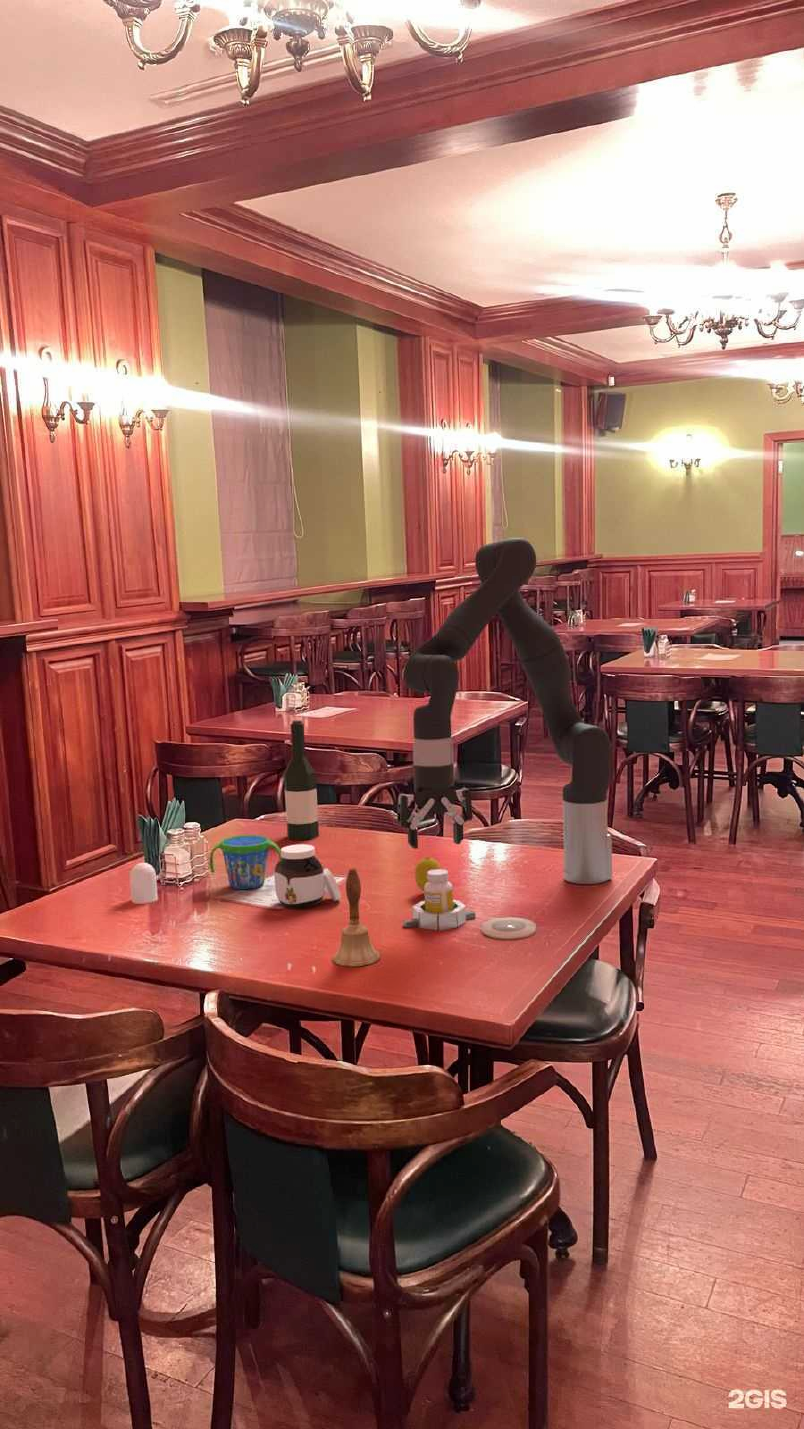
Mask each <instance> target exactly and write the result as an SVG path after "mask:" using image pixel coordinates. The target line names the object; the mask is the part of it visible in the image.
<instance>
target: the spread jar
mask: <svg viewBox="0 0 804 1429" xmlns="http://www.w3.org/2000/svg"><path fill="white" fill-rule="evenodd" d="M280 851H281V856H282V858H281V859H280V860H278V861H277V863H276V865H275V866H274V888H275V895H276V897H277V899H278V901H279V903H280V904H281V905H282V906H284V907H285V908H287V909H294V910H302V909H309V908H312V907H316V906H317V905H318V904H319V903H320V902H322V901H323V898H324V897H325V892H327V894H328V895H329V897H330V898H331V899H332V901H333V902H337V901H338V900H341V899H342V893H341V891H340V888H339V886H338V883H337V881H336V878H334V874H332V871H330V870H329V869H328V868H327V867H326V868H324V866H323V865H322V863H321V861H320V860H319V858H317V857H316V850H315V846H313V845H311V844H303V843H302V844H293V845H292V844H290V845H287V846H283V847H282V848H280Z"/></svg>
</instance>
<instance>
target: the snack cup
mask: <svg viewBox="0 0 804 1429" xmlns="http://www.w3.org/2000/svg"><path fill="white" fill-rule="evenodd" d="M270 847H273V849H274V850H275V851H276V852H277V854H278V856H279V858H278V859H279V860H280V859H281V858H282V856H281V848H280V847H279V845H277V843H276V842H274V841H272V840H271V839H269V837H268V836H263V835H257V834H247V835H246V834H244V835H235V836H230V837H226V838H224V839H222V840H220V842H219V843H218V844H216V845H214V847H213V848H212V849H211V852H210V855H209V859H208V860H209V869H210V871H211V873H214V872H215V866H214V857H213V856H214V852H215V851H217V849H220V850H221V851H222V855H223V859H224V865H225V871H226V874H227V877H228V878H227V879H228V883H229V886H230V887H232V888H233V889H236V890H249V889H256V888H260V887H261V886H263V885H264V884H265V881H266V879H265V878H266V872H267V871H266V870H267V860H268V855H269V849H270ZM279 860H278V861H279Z"/></svg>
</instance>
